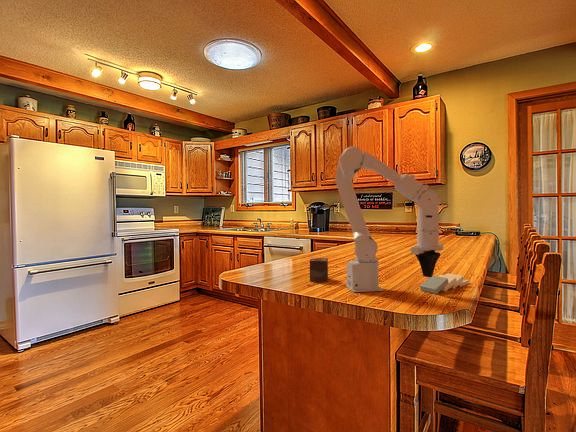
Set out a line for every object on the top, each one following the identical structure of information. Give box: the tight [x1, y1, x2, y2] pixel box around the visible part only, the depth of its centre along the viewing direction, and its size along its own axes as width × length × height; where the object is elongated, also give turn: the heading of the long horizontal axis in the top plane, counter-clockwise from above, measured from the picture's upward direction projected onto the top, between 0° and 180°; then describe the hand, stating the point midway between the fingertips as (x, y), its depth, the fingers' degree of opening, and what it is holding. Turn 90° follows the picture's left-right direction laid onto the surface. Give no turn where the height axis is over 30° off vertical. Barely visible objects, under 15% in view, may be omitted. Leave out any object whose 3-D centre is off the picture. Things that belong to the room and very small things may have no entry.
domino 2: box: [438, 274, 457, 292], centre depth 97 cm, size 2×5×7 cm
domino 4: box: [457, 279, 470, 287], centre depth 104 cm, size 2×5×7 cm
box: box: [309, 257, 329, 283], centre depth 110 cm, size 6×6×7 cm
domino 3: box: [445, 272, 465, 290], centre depth 101 cm, size 2×5×7 cm
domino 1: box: [419, 274, 449, 295], centre depth 95 cm, size 2×5×7 cm
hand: (427, 276), depth 92 cm, fingers closed
